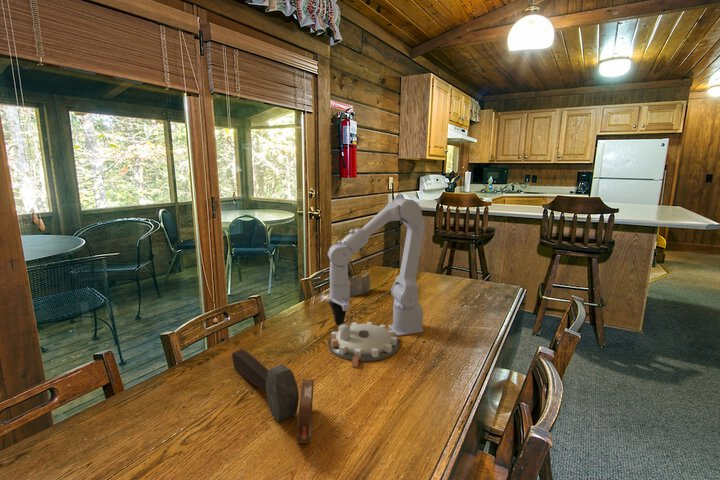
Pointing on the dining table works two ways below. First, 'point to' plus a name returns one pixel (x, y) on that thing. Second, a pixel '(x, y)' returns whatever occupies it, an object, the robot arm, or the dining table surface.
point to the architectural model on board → (359, 284)
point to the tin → (305, 412)
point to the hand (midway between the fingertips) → (339, 324)
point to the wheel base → (363, 358)
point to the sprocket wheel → (363, 339)
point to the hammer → (270, 384)
